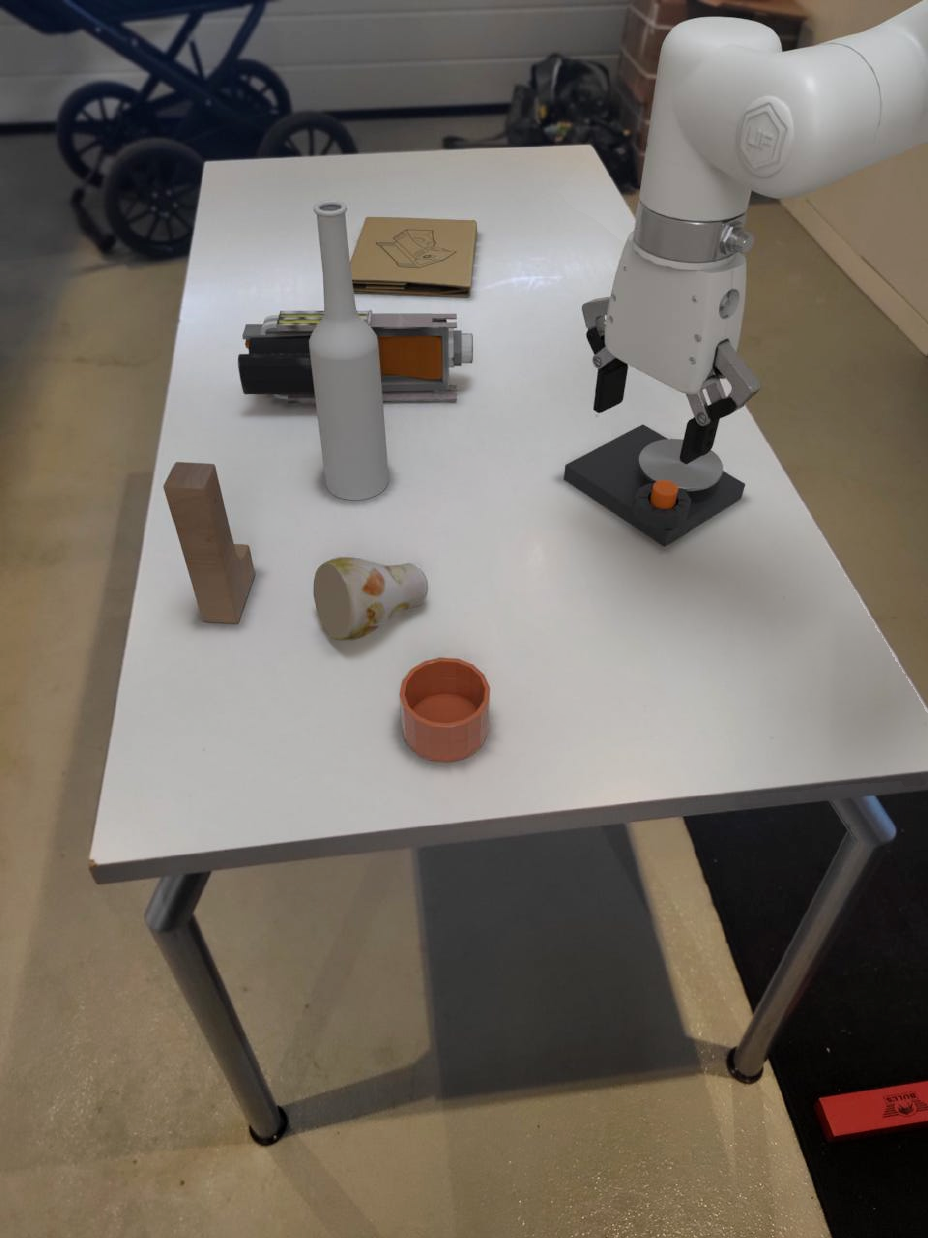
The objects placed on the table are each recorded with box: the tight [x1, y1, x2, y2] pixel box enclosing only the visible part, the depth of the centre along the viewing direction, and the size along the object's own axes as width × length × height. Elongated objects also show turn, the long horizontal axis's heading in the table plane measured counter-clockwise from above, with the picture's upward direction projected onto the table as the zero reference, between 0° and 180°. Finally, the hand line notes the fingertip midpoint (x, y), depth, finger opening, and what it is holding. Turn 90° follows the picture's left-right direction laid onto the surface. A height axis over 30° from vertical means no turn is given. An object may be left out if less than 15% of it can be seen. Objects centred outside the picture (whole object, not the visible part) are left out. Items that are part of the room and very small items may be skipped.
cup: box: [399, 656, 491, 763], centre depth 69 cm, size 7×7×4 cm
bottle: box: [309, 199, 389, 501], centre depth 83 cm, size 7×7×28 cm
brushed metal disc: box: [638, 438, 724, 491], centre depth 89 cm, size 8×8×1 cm
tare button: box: [650, 480, 678, 509], centre depth 85 cm, size 2×2×2 cm
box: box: [350, 216, 478, 298], centre depth 129 cm, size 21×18×2 cm
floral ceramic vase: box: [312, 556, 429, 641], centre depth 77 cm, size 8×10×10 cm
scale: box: [563, 423, 746, 547], centre depth 91 cm, size 14×13×4 cm
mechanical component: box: [237, 309, 474, 404], centre depth 100 cm, size 9×26×10 cm, turn 91°
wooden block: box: [162, 461, 256, 624], centre depth 75 cm, size 7×3×15 cm, turn 176°
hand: (649, 430), depth 75 cm, fingers open, 9 cm apart
